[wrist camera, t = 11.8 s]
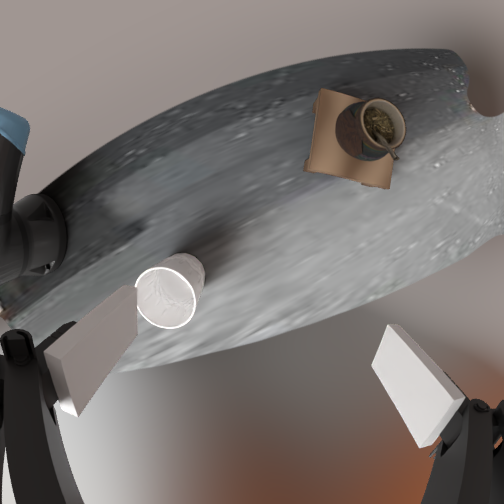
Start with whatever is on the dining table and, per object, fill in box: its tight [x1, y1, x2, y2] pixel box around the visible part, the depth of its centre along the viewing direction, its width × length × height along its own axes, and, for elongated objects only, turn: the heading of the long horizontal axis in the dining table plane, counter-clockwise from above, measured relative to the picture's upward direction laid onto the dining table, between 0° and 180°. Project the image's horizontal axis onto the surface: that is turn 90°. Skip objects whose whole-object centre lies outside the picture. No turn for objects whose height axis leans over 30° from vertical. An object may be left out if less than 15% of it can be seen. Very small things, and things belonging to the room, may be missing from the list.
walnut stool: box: [303, 88, 395, 189], centre depth 33 cm, size 11×11×6 cm
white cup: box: [135, 253, 205, 329], centre depth 35 cm, size 8×8×10 cm
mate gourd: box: [335, 98, 406, 161], centre depth 25 cm, size 7×8×10 cm
